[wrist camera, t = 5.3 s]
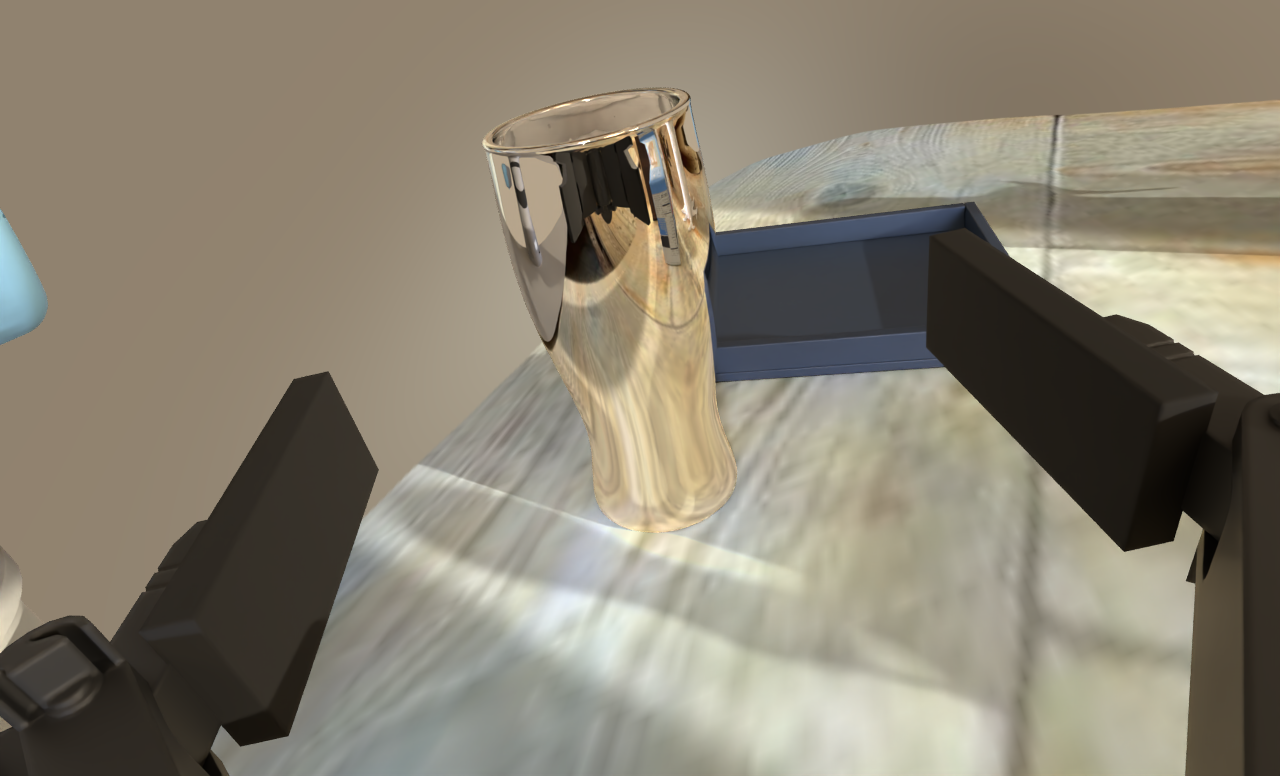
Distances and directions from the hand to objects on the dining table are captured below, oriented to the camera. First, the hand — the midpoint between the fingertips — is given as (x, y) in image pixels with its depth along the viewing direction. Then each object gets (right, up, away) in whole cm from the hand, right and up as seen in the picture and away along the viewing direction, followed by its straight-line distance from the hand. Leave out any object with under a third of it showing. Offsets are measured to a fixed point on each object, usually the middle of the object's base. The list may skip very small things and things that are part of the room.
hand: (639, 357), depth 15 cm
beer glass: (+1, -5, +14) cm, 15 cm away
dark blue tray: (+11, +4, +24) cm, 27 cm away
